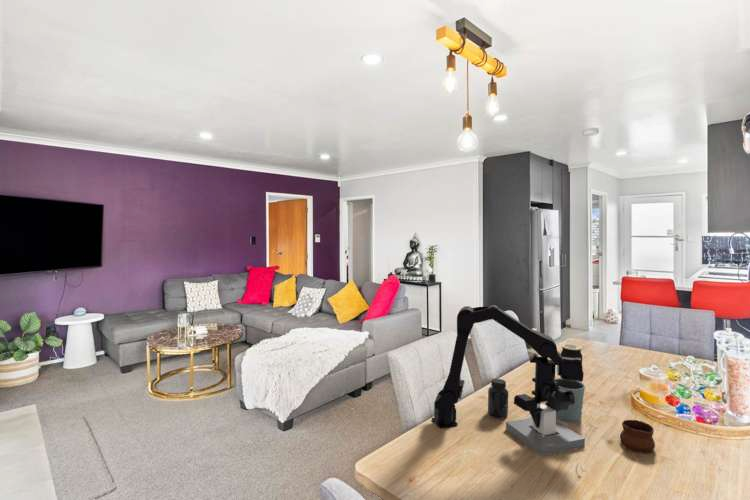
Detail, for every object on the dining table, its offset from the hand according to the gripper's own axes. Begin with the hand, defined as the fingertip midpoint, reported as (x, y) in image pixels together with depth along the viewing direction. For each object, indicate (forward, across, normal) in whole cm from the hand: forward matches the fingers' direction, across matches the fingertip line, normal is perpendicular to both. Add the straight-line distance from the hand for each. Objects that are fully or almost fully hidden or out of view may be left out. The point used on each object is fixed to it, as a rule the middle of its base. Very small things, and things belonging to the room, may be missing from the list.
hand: (543, 426), depth 123 cm
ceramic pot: (+4, +24, -12) cm, 27 cm away
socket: (+4, 0, 0) cm, 4 cm away
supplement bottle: (+4, -4, +18) cm, 19 cm away
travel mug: (+4, +38, +28) cm, 47 cm away
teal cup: (+4, +18, +9) cm, 21 cm away
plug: (+1, 0, 0) cm, 1 cm away
